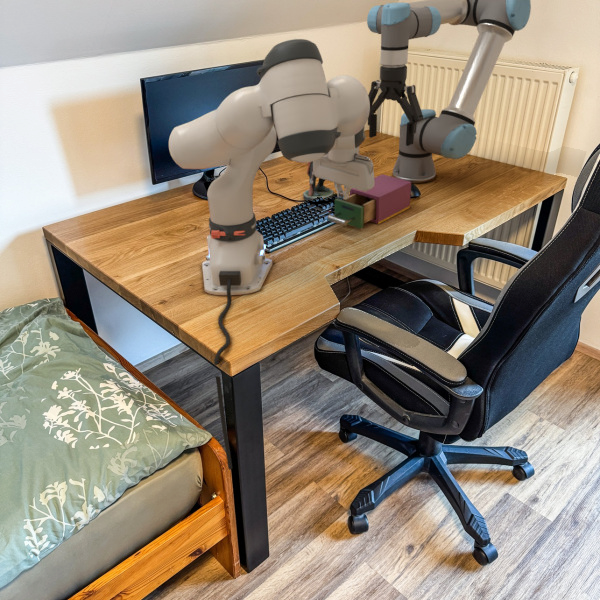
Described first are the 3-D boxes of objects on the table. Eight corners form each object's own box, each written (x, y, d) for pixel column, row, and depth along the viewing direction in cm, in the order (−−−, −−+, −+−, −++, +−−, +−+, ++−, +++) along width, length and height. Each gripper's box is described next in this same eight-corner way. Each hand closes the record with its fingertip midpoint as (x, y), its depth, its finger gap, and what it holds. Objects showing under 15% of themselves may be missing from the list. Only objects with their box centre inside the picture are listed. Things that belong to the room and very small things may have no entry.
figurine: (331, 204, 184) (330, 110, 168) (299, 202, 186) (296, 110, 170) (336, 192, 193) (335, 102, 177) (306, 191, 195) (303, 102, 179)
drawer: (348, 235, 162) (348, 213, 159) (322, 225, 168) (322, 205, 165) (391, 213, 174) (392, 193, 170) (365, 205, 180) (365, 185, 177)
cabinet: (378, 224, 170) (379, 197, 165) (349, 214, 177) (349, 188, 172) (409, 207, 180) (411, 181, 175) (381, 199, 186) (382, 174, 182)
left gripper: (380, 155, 150) (378, 203, 158) (323, 141, 163) (324, 187, 170) (365, 161, 147) (364, 210, 154) (308, 146, 159) (310, 193, 166)
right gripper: (439, 67, 152) (433, 144, 164) (367, 59, 167) (366, 130, 179) (423, 71, 148) (418, 151, 159) (350, 63, 163) (350, 136, 174)
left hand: (343, 198), depth 162 cm, fingers closed
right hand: (390, 140), depth 169 cm, fingers open, 13 cm apart
